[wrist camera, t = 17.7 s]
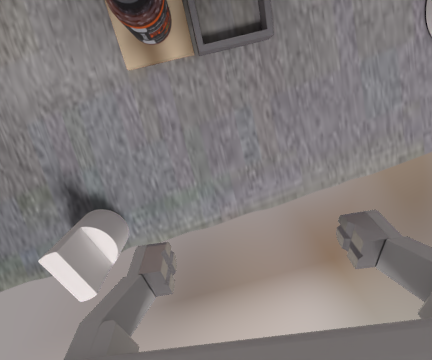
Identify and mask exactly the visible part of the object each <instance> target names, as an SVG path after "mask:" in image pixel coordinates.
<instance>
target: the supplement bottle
mask: <svg viewBox="0 0 432 360" xmlns="http://www.w3.org/2000/svg"><path fill="white" fill-rule="evenodd" d="M106 2H107V4H108V6H109V8H110V10H111V11H112V13H113V14H114V15H115V16H116V17H117V18H118V19H119V21H120V22H121V23H122V24H123V25H124V26H125V27H126V28H127V29H128V30H129V31H130V32H131V33H132V34H133V35H134V36H135V37H136V38H137V39H138V40H139V41H141V42H143V43H145V44H149V45H156V44H159V43H161V42H163V41H164V40H165V39H166V38H167V37H168V35H169V33H170V30H171V25H172V19H171V13H170V10H169V7H168V4H167V0H106Z"/></svg>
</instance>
